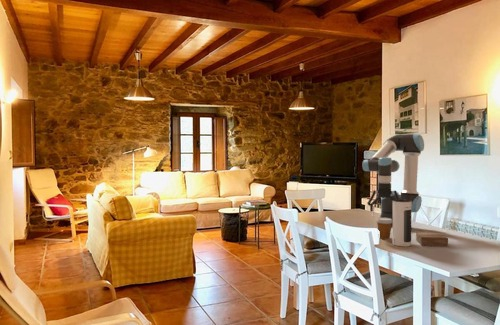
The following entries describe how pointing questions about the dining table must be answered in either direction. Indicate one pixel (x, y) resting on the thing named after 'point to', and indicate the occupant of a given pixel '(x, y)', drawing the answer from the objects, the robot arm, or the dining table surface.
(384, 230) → the disposable coffee cup
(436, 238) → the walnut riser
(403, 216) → the speaker
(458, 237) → the dining table surface
